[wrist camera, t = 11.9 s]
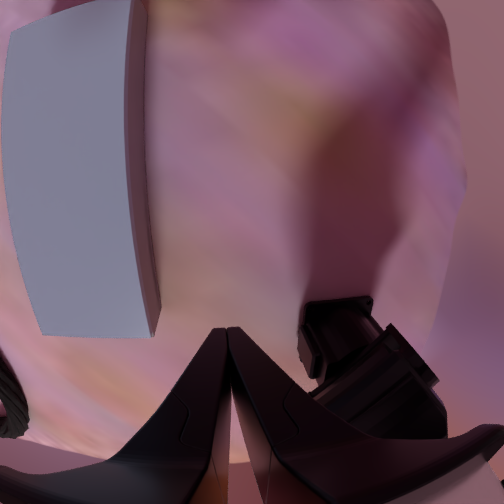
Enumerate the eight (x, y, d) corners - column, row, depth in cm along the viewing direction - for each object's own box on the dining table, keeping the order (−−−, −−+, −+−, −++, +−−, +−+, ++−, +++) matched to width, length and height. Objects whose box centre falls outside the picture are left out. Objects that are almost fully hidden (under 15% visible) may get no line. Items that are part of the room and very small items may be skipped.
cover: (135, -3, 11) (132, -9, 10) (152, 331, 19) (151, 338, 18) (16, 34, 10) (10, 32, 9) (46, 329, 18) (42, 335, 17)
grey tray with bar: (147, 14, 15) (135, -9, 11) (161, 307, 23) (153, 336, 19) (43, 41, 14) (18, 29, 10) (67, 308, 22) (49, 333, 18)
